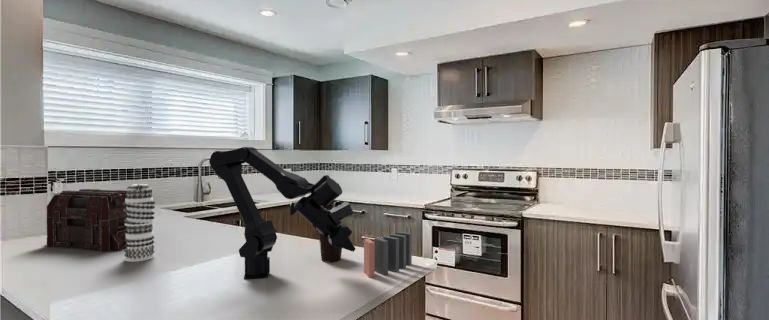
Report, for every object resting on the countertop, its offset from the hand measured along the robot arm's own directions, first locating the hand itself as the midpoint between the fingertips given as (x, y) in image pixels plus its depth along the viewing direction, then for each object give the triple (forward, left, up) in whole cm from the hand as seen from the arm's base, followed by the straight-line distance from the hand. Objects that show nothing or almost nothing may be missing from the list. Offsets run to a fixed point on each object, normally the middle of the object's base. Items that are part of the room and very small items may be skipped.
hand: (354, 250), depth 112 cm
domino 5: (+18, +9, -8) cm, 21 cm away
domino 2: (+8, +1, -8) cm, 12 cm away
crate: (-89, +64, -8) cm, 110 cm away
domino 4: (+15, +6, -8) cm, 18 cm away
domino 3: (+12, +3, -8) cm, 15 cm away
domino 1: (+5, 0, -8) cm, 9 cm away
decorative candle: (-66, +37, -8) cm, 77 cm away
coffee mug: (-3, +20, -8) cm, 22 cm away
